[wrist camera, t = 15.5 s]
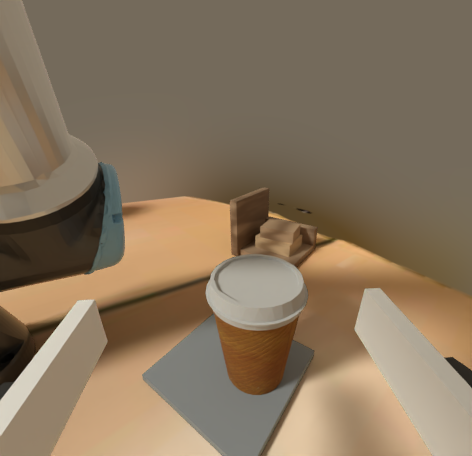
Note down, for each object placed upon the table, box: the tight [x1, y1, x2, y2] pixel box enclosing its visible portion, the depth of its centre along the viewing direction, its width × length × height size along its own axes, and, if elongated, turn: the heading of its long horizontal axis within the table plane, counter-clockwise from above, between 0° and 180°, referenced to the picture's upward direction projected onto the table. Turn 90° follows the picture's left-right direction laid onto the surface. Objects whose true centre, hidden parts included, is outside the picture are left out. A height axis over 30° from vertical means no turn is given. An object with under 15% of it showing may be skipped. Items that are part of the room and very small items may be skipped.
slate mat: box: [142, 313, 314, 456], centre depth 28 cm, size 14×14×1 cm
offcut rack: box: [230, 188, 317, 267], centre depth 52 cm, size 14×13×12 cm
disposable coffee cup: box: [206, 254, 308, 395], centre depth 25 cm, size 10×10×12 cm
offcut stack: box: [255, 219, 302, 257], centre depth 53 cm, size 8×6×5 cm
